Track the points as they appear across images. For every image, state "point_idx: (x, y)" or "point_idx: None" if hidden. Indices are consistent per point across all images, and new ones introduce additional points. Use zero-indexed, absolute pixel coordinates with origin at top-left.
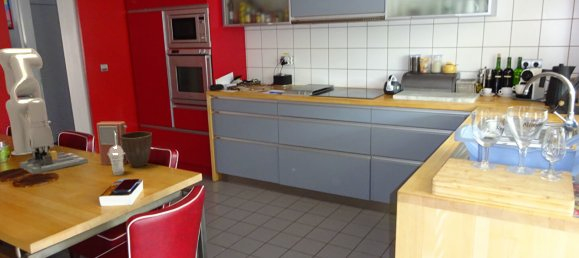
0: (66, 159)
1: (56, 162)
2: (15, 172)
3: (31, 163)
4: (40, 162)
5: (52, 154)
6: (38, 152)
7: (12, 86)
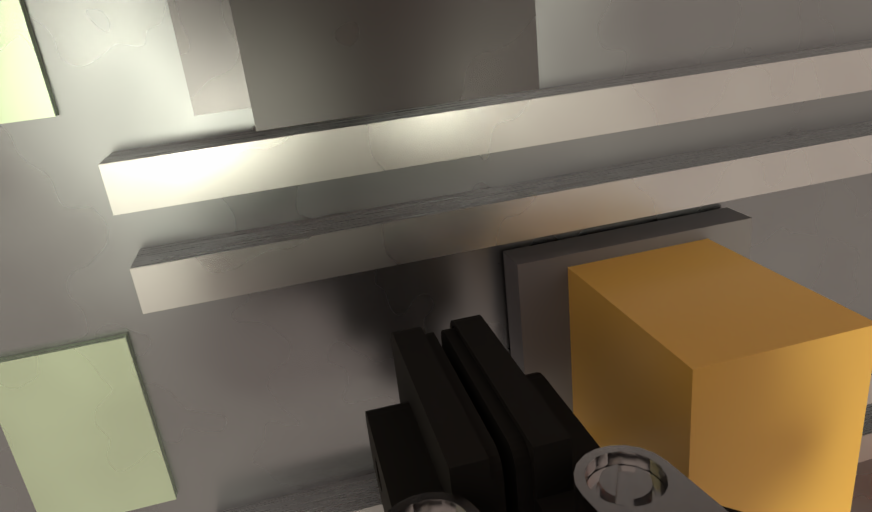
0: None
1: None
2: None
3: (124, 246)
4: (351, 286)
5: None
6: (422, 102)
7: None
